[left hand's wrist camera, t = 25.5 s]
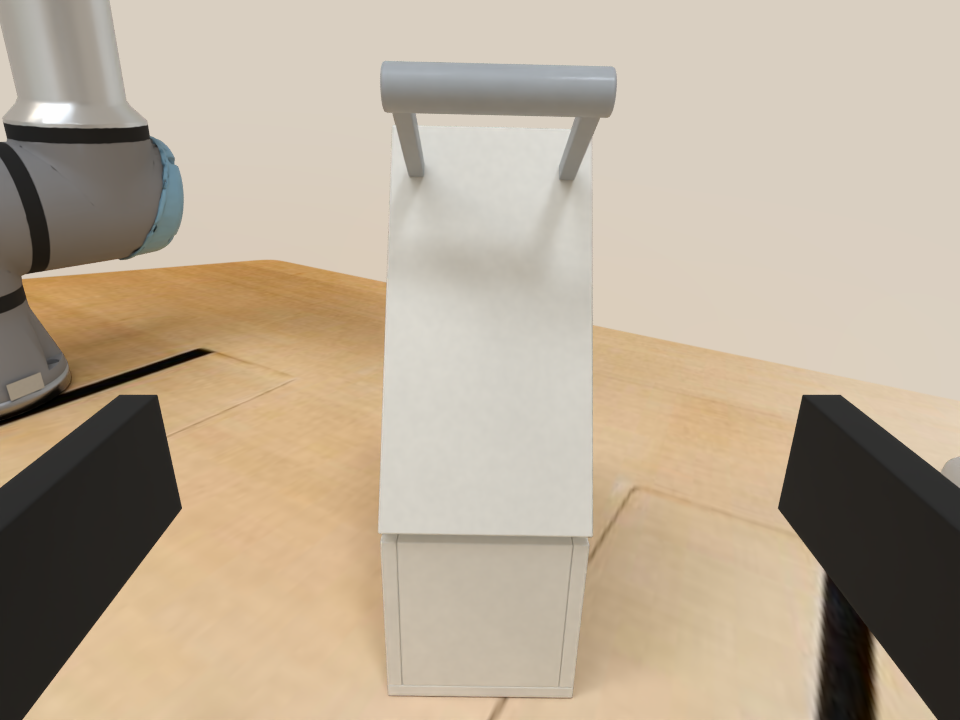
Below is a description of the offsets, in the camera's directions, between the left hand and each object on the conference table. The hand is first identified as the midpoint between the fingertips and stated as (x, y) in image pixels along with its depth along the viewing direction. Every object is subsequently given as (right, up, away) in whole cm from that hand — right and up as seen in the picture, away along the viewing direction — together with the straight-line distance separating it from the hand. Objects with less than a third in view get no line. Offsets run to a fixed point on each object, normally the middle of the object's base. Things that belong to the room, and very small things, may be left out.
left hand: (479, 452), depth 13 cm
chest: (0, -11, +25) cm, 27 cm away
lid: (0, +3, +14) cm, 15 cm away
